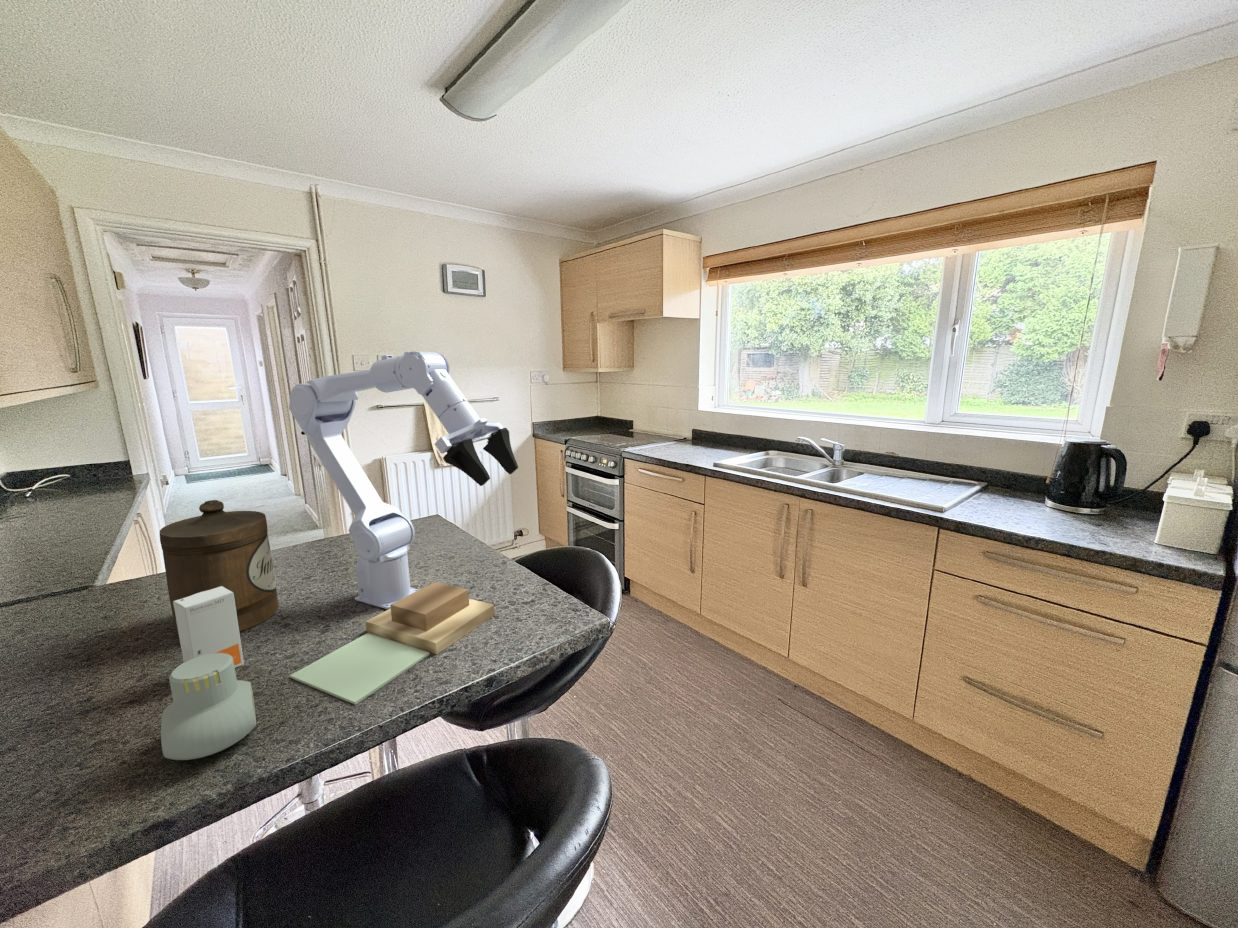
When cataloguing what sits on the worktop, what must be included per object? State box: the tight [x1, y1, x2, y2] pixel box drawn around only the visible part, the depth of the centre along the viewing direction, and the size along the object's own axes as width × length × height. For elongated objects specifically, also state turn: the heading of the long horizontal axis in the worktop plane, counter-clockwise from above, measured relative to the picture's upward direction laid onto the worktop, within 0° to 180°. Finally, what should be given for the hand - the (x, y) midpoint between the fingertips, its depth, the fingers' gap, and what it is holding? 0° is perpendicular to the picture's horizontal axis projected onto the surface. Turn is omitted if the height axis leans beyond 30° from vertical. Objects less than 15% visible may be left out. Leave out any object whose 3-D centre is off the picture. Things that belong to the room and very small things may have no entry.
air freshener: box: [160, 653, 257, 761], centre depth 60 cm, size 11×8×10 cm
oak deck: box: [365, 598, 496, 656], centre depth 88 cm, size 16×14×2 cm
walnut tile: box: [390, 581, 470, 631], centre depth 87 cm, size 8×10×3 cm
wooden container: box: [159, 499, 280, 636], centre depth 88 cm, size 15×15×22 cm
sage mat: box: [289, 632, 431, 706], centre depth 75 cm, size 14×13×1 cm
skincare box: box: [173, 586, 245, 669], centre depth 74 cm, size 6×4×12 cm
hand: (500, 476), depth 83 cm, fingers open, 7 cm apart
